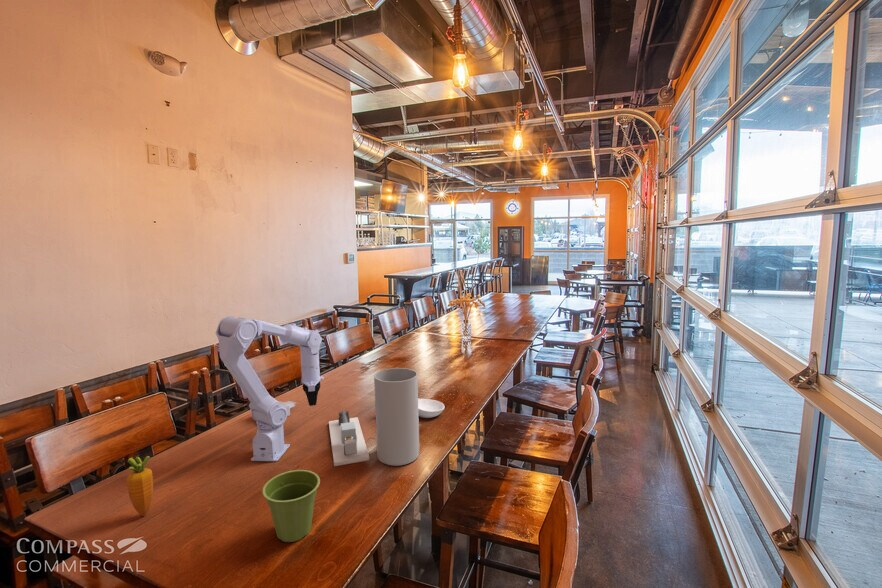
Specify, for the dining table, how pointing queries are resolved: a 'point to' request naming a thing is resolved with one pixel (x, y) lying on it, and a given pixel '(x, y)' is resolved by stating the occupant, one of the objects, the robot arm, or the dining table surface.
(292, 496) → the plant pot
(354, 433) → the light grey sliding block
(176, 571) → the dining table surface
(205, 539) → the dining table surface
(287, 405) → the charger
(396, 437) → the cylinder vase
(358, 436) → the white slide rail base
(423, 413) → the spoon rest
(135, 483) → the carrot
